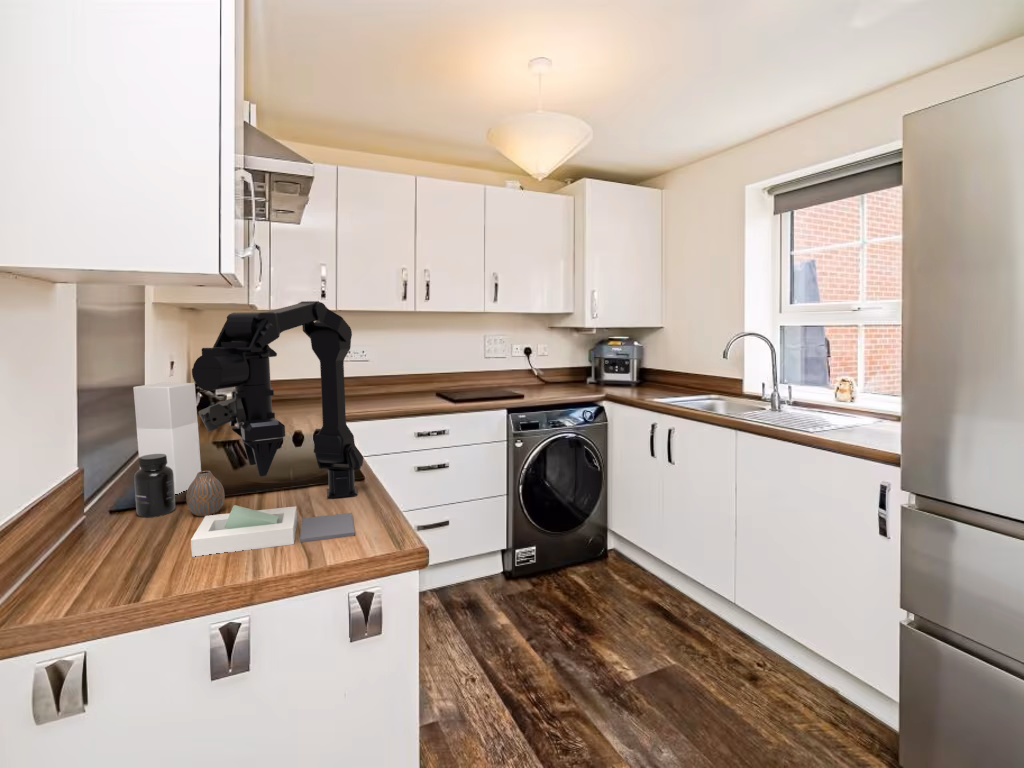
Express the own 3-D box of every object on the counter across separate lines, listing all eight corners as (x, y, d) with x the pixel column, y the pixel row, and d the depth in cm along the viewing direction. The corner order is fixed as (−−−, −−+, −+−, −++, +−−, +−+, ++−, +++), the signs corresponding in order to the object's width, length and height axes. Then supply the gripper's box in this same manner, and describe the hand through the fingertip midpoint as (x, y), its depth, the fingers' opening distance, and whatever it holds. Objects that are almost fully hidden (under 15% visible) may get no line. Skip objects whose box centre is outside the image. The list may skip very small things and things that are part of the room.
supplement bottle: (131, 519, 108) (126, 461, 107) (144, 508, 115) (139, 453, 113) (169, 516, 110) (165, 459, 109) (180, 505, 117) (176, 451, 115)
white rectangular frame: (206, 531, 102) (205, 515, 102) (297, 520, 107) (296, 506, 107) (192, 556, 91) (190, 539, 91) (293, 544, 96) (292, 528, 96)
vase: (191, 509, 114) (188, 469, 113) (227, 505, 116) (225, 466, 115) (184, 521, 108) (181, 478, 106) (222, 516, 110) (220, 474, 109)
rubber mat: (302, 521, 107) (302, 518, 107) (351, 515, 110) (351, 512, 110) (299, 542, 97) (299, 539, 97) (354, 535, 100) (354, 532, 100)
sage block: (228, 520, 100) (234, 504, 100) (272, 531, 102) (278, 516, 102) (224, 527, 96) (230, 512, 96) (270, 539, 99) (276, 523, 99)
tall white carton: (141, 494, 124) (132, 386, 121) (169, 482, 133) (161, 382, 130) (176, 495, 123) (168, 387, 120) (202, 484, 132) (195, 382, 129)
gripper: (194, 382, 98) (200, 465, 100) (206, 392, 83) (213, 491, 84) (261, 378, 104) (265, 457, 106) (283, 387, 89) (288, 479, 91)
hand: (257, 470), depth 97 cm, fingers open, 9 cm apart
